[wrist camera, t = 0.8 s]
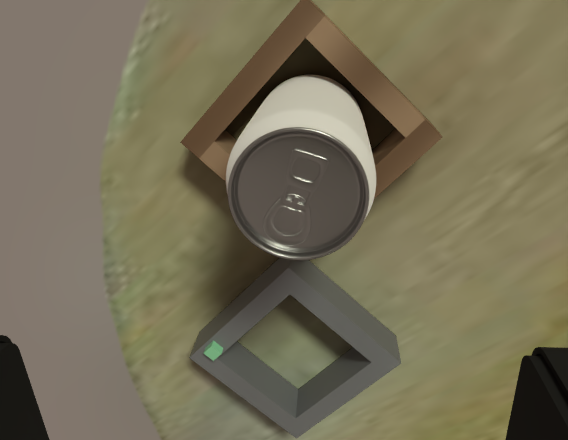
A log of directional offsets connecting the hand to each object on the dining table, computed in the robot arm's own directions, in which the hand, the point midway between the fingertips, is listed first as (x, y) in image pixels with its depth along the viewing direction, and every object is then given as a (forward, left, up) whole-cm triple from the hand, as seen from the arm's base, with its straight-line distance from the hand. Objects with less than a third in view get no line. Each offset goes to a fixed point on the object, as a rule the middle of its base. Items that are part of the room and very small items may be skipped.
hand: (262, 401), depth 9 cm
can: (0, 0, -23) cm, 23 cm away
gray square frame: (-10, +12, -23) cm, 28 cm away
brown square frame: (0, 0, -23) cm, 23 cm away
